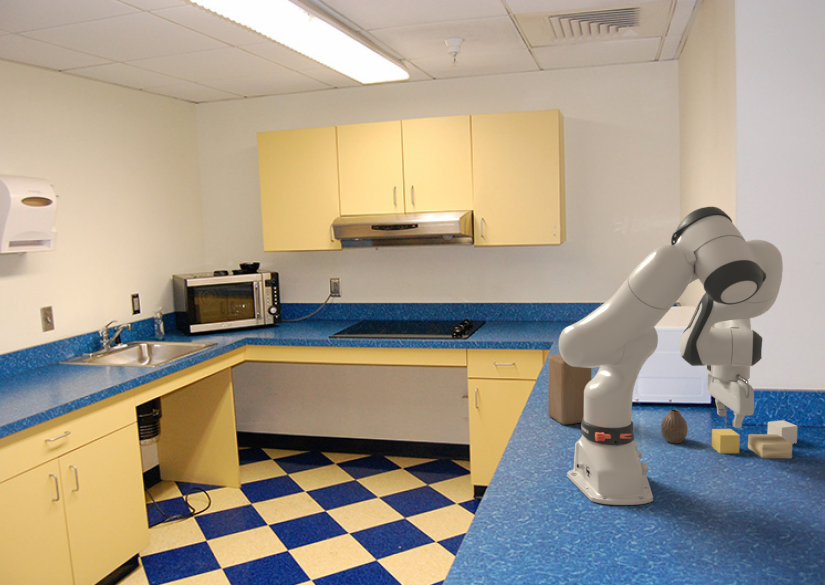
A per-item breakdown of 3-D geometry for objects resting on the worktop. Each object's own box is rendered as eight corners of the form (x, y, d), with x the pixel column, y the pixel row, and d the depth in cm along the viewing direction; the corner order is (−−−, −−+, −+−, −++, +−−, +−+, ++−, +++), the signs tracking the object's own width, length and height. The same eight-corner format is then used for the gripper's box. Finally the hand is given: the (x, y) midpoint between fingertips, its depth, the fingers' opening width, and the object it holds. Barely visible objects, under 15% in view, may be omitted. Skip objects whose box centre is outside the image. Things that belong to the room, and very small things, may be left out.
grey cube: (796, 443, 174) (797, 425, 174) (781, 445, 173) (782, 427, 173) (782, 437, 179) (783, 420, 179) (767, 439, 178) (767, 421, 178)
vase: (665, 434, 183) (666, 405, 182) (690, 439, 179) (691, 409, 178) (657, 441, 178) (657, 411, 177) (682, 447, 174) (683, 416, 172)
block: (562, 426, 192) (563, 361, 190) (547, 416, 202) (547, 354, 200) (592, 422, 195) (592, 358, 193) (575, 412, 205) (575, 351, 202)
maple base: (791, 459, 164) (792, 444, 164) (762, 459, 165) (762, 444, 164) (776, 448, 172) (776, 434, 171) (747, 448, 172) (748, 434, 172)
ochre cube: (739, 453, 169) (739, 435, 168) (719, 453, 169) (720, 435, 168) (730, 446, 173) (731, 428, 173) (711, 446, 174) (712, 429, 173)
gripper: (762, 380, 157) (760, 434, 159) (726, 361, 177) (725, 409, 179) (736, 381, 158) (734, 434, 159) (703, 361, 178) (702, 409, 180)
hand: (729, 421), depth 169 cm, fingers open, 8 cm apart
